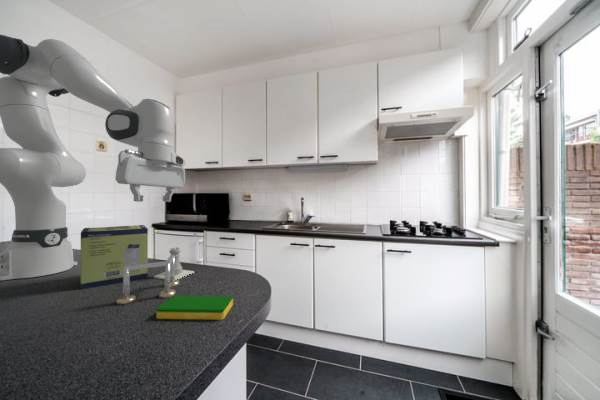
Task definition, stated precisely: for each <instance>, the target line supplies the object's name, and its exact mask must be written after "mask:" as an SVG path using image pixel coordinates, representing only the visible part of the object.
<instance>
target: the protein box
mask: <svg viewBox="0 0 600 400" xmlns="http://www.w3.org/2000/svg"><path fill="white" fill-rule="evenodd" d="M148 232H149V228H148V227H146V226H145V225H144V224H137V225H135V224H134V225H122V226H121V225H120V226H102V227H101V226H99V227H84V228H83V229H81V232H80V290H84V289H89V288H90V289H91V288H96V287H102V286H109V285H114V284H120V283H123V268H124V267H125V265H134V264H144V263H149V262H148V261H149V259H148V257H149V256H148V255H149V253H148V252H149V244H148V243H149V240H148V239H149V233H148ZM148 270H149V269H148V268H140V269H130V282H132V281H137V280H143V278H144V279H147V278H148V277H149V276H148V273H149V272H148Z"/></svg>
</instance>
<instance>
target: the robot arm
mask: <svg viewBox="0 0 600 400" xmlns="http://www.w3.org/2000/svg"><path fill="white" fill-rule="evenodd" d="M0 74H2V75H7V76H2V77H0V119H1V120H0V121H1V123H2V126H3V129H4V133H5V135H6V136H7V137H8V138H9V139H10V140H11V141H12V142H14V143H16V144H18V146H20V147H19V148H18V147H0V184H1V185H2V187H4V188H5V190H7V192H8V194H9V196H10V197H11V200H12V202H13V206H14V213H15V215H14V216H15V219H14V220H15V229H13V231H12V234H11V239H10V241H11V243H10V244H9V245H8V246H7V247H6V248H5V249H4V250H3V251H2V252H0V281H9V280H15V279H17V280H19V279H28V278H37V277H43V276H49V275H53V274H58V273H62V272H65V271H68V270H71V269H72V268H73V267H74V265H75V266H77V265H78V261H75V260H74V252H73V244H72V242H71V241H69V240H68V239H67V238H68V237H69V234H68V233H69V230H68V227H67V206H66V204H65V202H64V201H62V200H60V199H59V197H57V196H56V194H55V193H54V191H53V188H66V187H73V186H78V185H80V184H81V183H82V182H84V180H85V178H86V175H87V174H86V173H87V170H86V168H85V166H84V164H82V163H81V162H80V161H78V160H77V159H75V157H74V156H73V155H72V154H71V153H70V152H69V150H68V149H67V148H66V147H65V145H64V144H63V142H62V141H61V139H60V138H59V136H58V133H57V130H56V129H55V125H54V122H53V119H52V117H51V112H50V110H49V107H48V104H47V99H46V98H47V96H48V95H49V96H52V97H53V98H54V97H55V98H58V97H60V96H61V95H65V94H66V95H67V94H69V93H70V94H71V95H72V96H73V97H74V96H75V97H76V98H78V99H80V100H82V101H83V102H86V103H89V104H92V105H93V106H95V107H96V106H97V107H98V108H101V109H102V110H105V111H107V112H108V115H107V116H106V119H105V123H104V125H105V131H106V133H107V135H108V137H109V138H111V139H112V140H114V141H117V142H120V143H123V144H125V145H128V146H132V147H136V148H137V151H133V150H131V149H124V150H122V151H120V152H119V153H118V160H117V162H118V163H117V166H116V171H115V181H116V183H118V185H119V184H120V185H129V191H130V192H131V193H132V195H133V201H134V202H143V201H144V195H143V194H142V195H141V192H140V190H141V186H146V187H155V188H156V187H158V188H165V191H166V193H165V195H163V196H162V201H163V202H165V203H167V202H168V203H171V202H172V196H173V194H174V193H175V190H176V189H183V188H184V187H185V184H186V170H185V167H184V166H185V165H186V159H184V158H183V157H181V156H180V155H179V154H177V153H176V152H175V151H173V143H172V139H173V136H174V114H173V111H172V109H171V108H170V107H169V106H168V105H166V104H164V103H162V102H160V101H158V100H156V99H153V98H143V99H141V101H139V103H138V104H136V105H134V106H133V104H131V103H130V102H129V101H128V100H127V99H126V98H125V97H124V96H122V94H121V93H120V92H119V91H117V89H116V88H114V86H113V85H112V84H111V83H110V81H108V80H107V79H106V78H105V76H104V75H102V74H101V73H100V72H99V71H98V69H96V67H95V66H94V65H93V64H92V63H91V62H90V61H89V60H88V59H87V58H86V57H84V55H82V54H81V53H80V52H78V51H77V50H76V49H75V48H73V47H72V46H70V45H68V44H67V43H66V42H63V41H61V40H59V39H54V38H48V39H43V40H42V41H40V42H39V43H38V44H37V45H35V46H33V45H31V44H27V43H25V42H24V41H23V40H22V39H20V38H16V37H11V36H8V35H4V34H0ZM52 187H53V188H52Z"/></svg>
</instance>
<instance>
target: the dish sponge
mask: <svg viewBox="0 0 600 400" xmlns="http://www.w3.org/2000/svg"><path fill="white" fill-rule="evenodd" d="M233 305H234V296H233V295H194V294H193V295H189V294H188V295H187V294H186V295H184V294H183V295H182V294H181V295H180V294H179V295H178V294H177V295H176V294H175V295H174V296H172V297H169V299H167V300H166V301H165V302H164V303H162V304H161V305H159V306H158V307H157V308H156V310H155V313H156V315H155V316H156V317H155V318H156V319H158V320H165V319H166V320H217V321H218V320H220V321H221V320H223V319H225V317H226V316H227V315H228V313H229V312H230V310H231V308H232V307H233Z"/></svg>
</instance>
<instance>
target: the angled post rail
mask: <svg viewBox="0 0 600 400" xmlns="http://www.w3.org/2000/svg"><path fill="white" fill-rule="evenodd" d="M158 267H160V268H161V267H164V272H165V279H164V290H161V291H160V292H159V293H158V297H159V298H160V299H168V298H169V299H170V298H171V297H173V296H175V295H176V290H175V289H171V288H172V287H176V286H179V285H180V280H179V279H178V280H175V256H174V255H171V254H170V255H169V256H168V258H167V260H166V261H157V262H148V263H144V264H134V265H125V267H124V268H123V282H122V289H123V290H122V296H120V297H117V298H116V304H117V305H118V306H119V305H120V306H124V305H128V304H131V303H134V302H135V301H136V299H137V298H136V295H135V294H130V285H131V284H130V282H131V281H130V269H140V268H158Z"/></svg>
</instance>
